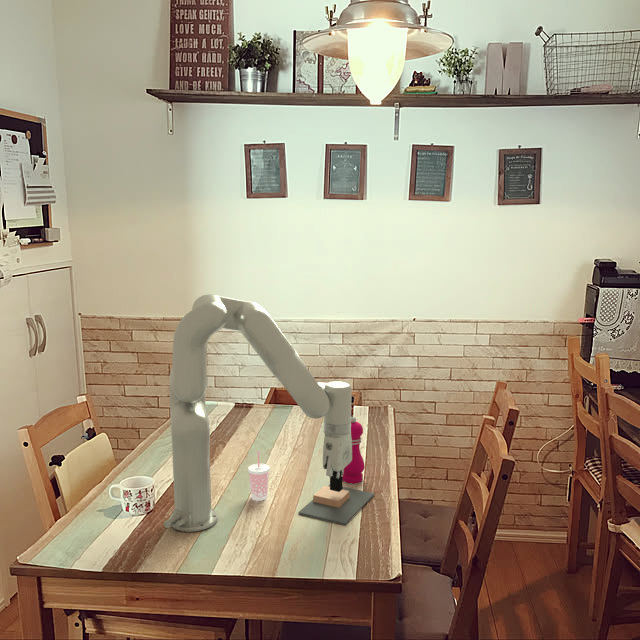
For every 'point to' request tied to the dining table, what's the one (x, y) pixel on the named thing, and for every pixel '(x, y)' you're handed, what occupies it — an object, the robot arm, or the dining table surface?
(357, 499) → the mat
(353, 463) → the pepper mill
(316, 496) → the tile
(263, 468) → the beverage cup
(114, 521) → the dining table surface
